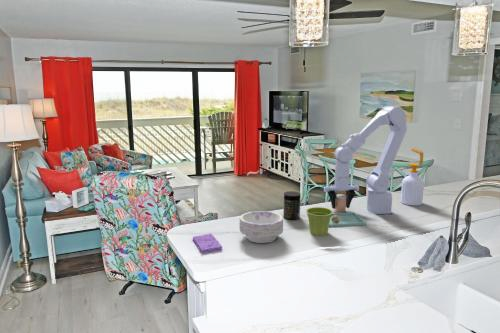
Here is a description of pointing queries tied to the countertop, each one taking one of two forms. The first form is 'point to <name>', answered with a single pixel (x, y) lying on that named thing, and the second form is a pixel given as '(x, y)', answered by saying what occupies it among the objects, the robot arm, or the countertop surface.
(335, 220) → the ball
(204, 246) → the sponges
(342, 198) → the shaker
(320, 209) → the plant pot
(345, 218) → the tray
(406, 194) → the soap bottle
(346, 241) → the countertop surface
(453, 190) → the countertop surface
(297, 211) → the supplement container
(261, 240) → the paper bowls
